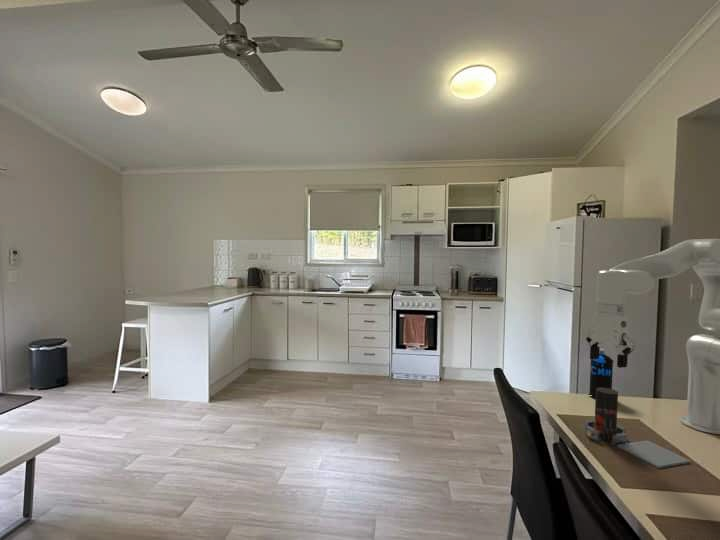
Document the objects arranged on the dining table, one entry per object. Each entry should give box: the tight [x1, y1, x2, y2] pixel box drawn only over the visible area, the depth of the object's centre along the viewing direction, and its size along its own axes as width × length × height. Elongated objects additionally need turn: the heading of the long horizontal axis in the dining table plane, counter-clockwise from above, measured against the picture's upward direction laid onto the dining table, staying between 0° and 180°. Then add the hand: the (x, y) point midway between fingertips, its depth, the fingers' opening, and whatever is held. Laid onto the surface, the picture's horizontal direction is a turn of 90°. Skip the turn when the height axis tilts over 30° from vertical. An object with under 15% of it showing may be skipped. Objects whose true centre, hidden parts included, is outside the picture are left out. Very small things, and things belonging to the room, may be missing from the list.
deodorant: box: [594, 387, 619, 442], centre depth 120 cm, size 6×6×15 cm
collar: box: [584, 419, 628, 447], centre depth 120 cm, size 13×11×3 cm
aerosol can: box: [588, 348, 615, 400], centre depth 155 cm, size 8×8×20 cm
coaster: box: [616, 439, 691, 469], centre depth 110 cm, size 12×12×1 cm
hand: (607, 362), depth 119 cm, fingers open, 9 cm apart
